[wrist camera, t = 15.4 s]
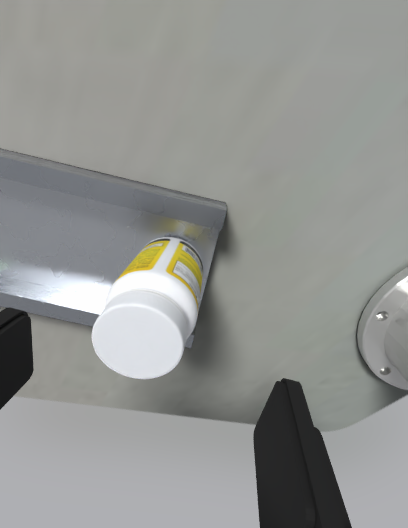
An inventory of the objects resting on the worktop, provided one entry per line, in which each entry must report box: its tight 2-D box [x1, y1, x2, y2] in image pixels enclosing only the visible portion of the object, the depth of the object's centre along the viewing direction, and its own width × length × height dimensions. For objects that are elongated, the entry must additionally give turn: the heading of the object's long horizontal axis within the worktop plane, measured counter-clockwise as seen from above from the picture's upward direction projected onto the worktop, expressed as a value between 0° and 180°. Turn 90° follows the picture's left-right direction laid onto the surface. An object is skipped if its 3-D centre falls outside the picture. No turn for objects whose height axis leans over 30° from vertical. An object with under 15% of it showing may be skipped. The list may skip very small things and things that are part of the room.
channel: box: [0, 149, 227, 348], centre depth 18 cm, size 16×10×3 cm, turn 77°
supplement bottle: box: [92, 237, 203, 379], centre depth 14 cm, size 5×5×8 cm
